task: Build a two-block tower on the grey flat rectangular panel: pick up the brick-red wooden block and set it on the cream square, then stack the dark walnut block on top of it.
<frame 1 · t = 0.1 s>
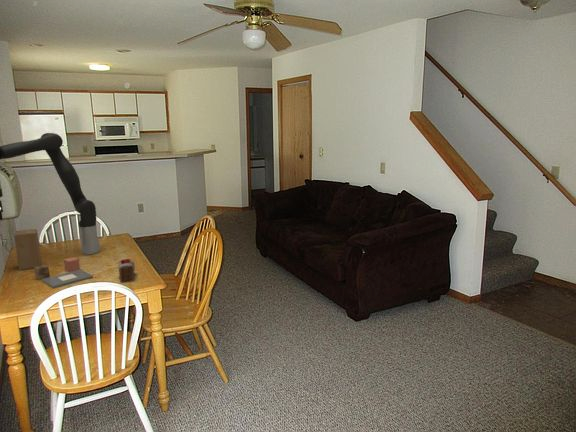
wooden block: (30, 266, 231), on the table
walnut block: (42, 277, 213), on the table
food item: (127, 277, 213), on the table
grey flat rectangular panel: (67, 279, 210), on the table
red block: (72, 269, 225), on the table
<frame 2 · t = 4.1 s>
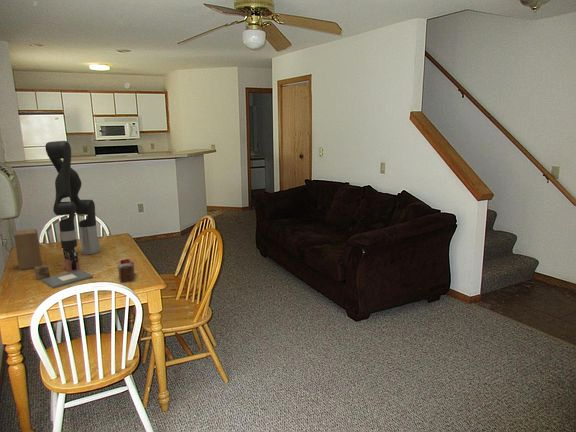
hand: (72, 268, 224), 1 cm above the table, tool pointing down, fingers closed on red block, 5 cm apart
red block: (72, 269, 224), on the table, touching gripper
everything else where it was.
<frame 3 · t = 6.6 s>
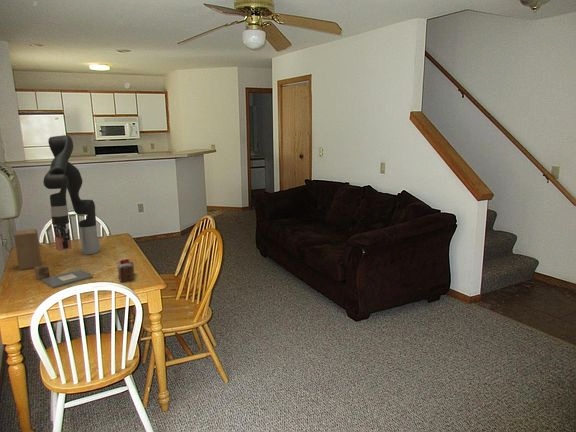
hand: (63, 247, 209), 16 cm above the table, tool pointing down, fingers closed on red block, 5 cm apart
red block: (63, 248, 209), point 16 cm above the table, touching gripper
everything else where it was.
when the fingers open (3 cm above the table, at t = 9.7 s): red block drops 1 cm, resting on grey flat rectangular panel.
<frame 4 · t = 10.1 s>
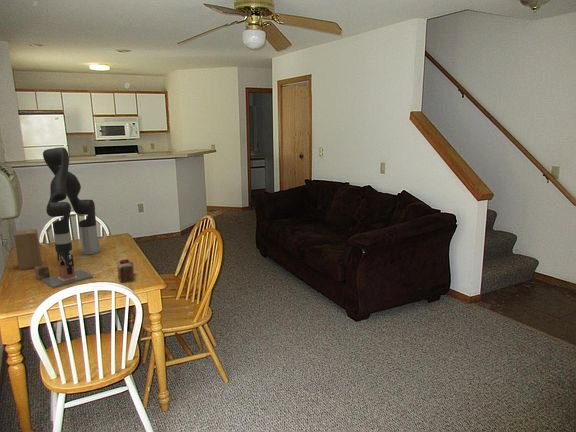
hand: (66, 272, 209), 4 cm above the table, tool pointing down, fingers open, 8 cm apart
red block: (67, 277, 210), point 1 cm above the table, touching grey flat rectangular panel
everything else where it was.
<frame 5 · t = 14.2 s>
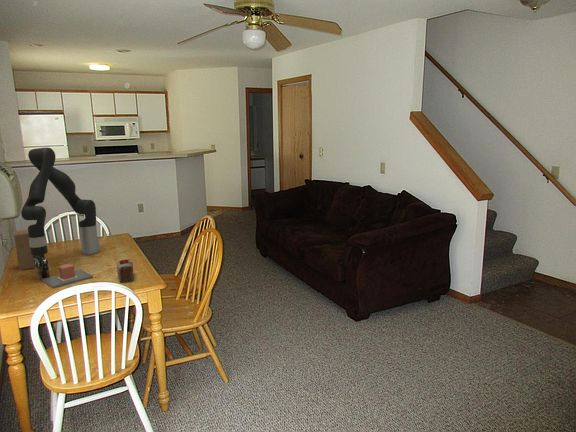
hand: (42, 276, 213), 1 cm above the table, tool pointing down, fingers closed on walnut block, 5 cm apart
walnut block: (42, 277, 213), on the table, touching gripper
everything else where it was.
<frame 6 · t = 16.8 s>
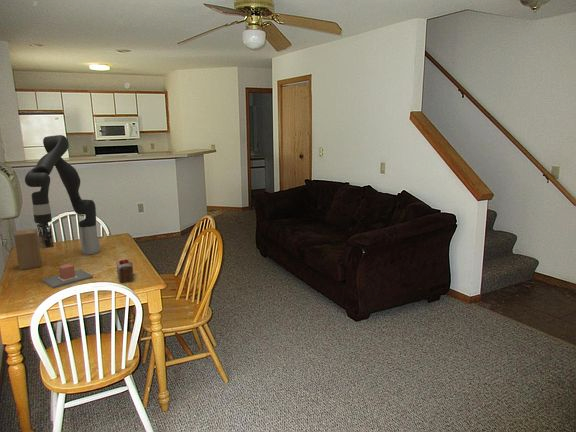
hand: (46, 245, 208), 18 cm above the table, tool pointing down, fingers closed on walnut block, 5 cm apart
walnut block: (46, 246, 208), point 17 cm above the table, touching gripper
everything else where it was.
when the fingers open (9 cm above the table, at t = 19.4 s): walnut block drops 1 cm, resting on red block.
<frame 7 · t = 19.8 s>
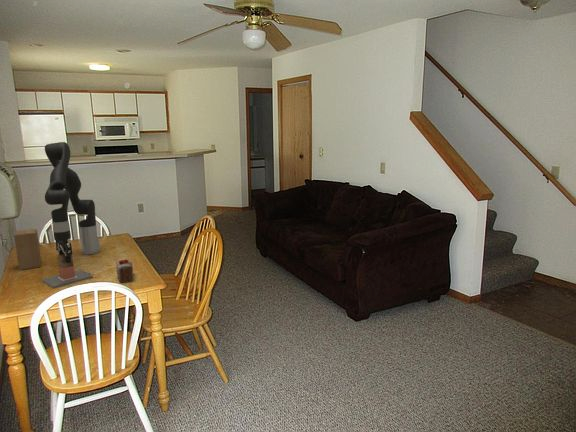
hand: (65, 261, 208), 10 cm above the table, tool pointing down, fingers open, 8 cm apart
walnut block: (66, 266, 209), point 7 cm above the table, touching red block
red block: (67, 277, 210), point 1 cm above the table, touching grey flat rectangular panel, walnut block
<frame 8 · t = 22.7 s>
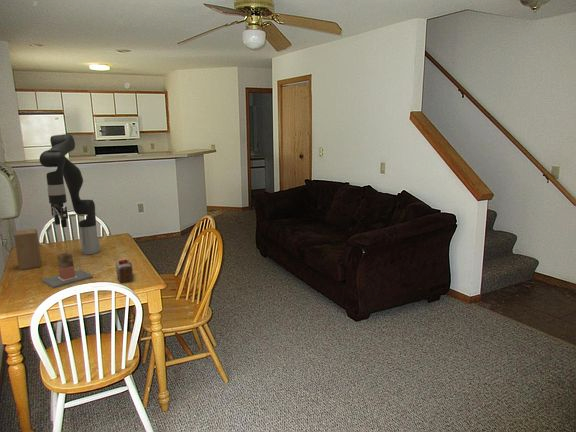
hand: (61, 225, 204), 28 cm above the table, tool pointing down, fingers open, 8 cm apart
at the end: red block 0.1 cm off-centre on the grey flat rectangular panel, point 1.1 cm above the grey flat rectangular panel's base; walnut block 0.1 cm off-centre on the red block, point 6.0 cm above the red block's base; walnut block tilted 0° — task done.
